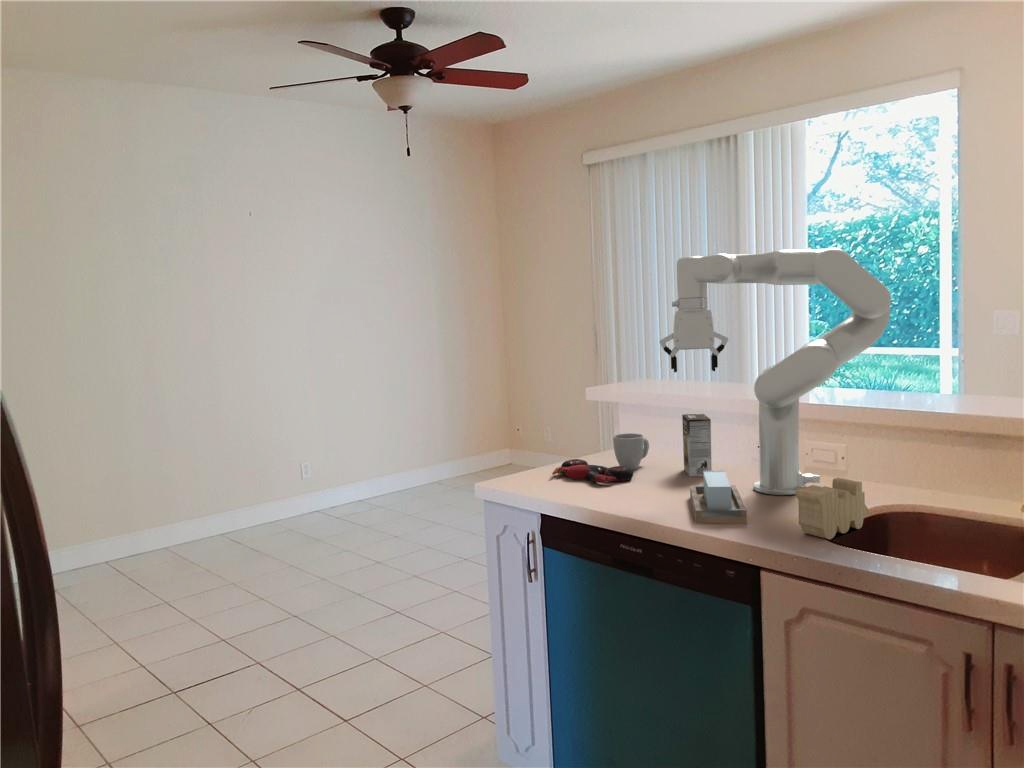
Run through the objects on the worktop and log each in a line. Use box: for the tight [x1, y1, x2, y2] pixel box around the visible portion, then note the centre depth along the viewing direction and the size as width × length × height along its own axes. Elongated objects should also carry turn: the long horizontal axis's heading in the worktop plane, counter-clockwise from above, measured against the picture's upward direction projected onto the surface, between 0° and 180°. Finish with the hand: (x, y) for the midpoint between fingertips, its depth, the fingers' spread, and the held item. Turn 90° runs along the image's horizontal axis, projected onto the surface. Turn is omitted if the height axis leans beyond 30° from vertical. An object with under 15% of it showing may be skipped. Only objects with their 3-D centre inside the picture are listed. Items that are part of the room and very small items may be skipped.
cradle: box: [689, 484, 748, 525], centre depth 183 cm, size 22×11×3 cm, turn 170°
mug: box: [612, 432, 650, 471], centre depth 231 cm, size 12×9×10 cm
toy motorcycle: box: [551, 458, 634, 484], centre depth 222 cm, size 25×5×16 cm
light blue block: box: [702, 470, 732, 509], centre depth 183 cm, size 16×5×6 cm, turn 170°
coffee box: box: [681, 413, 713, 477], centre depth 220 cm, size 9×6×16 cm
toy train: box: [794, 477, 870, 540], centre depth 163 cm, size 6×17×10 cm, turn 124°
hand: (694, 371), depth 203 cm, fingers open, 9 cm apart
